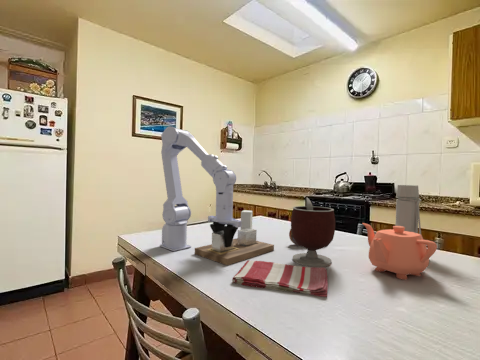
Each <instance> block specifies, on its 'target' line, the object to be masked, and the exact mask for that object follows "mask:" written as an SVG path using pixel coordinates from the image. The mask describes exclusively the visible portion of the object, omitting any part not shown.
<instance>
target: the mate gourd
mask: <svg viewBox="0 0 480 360" xmlns="http://www.w3.org/2000/svg"><path fill="white" fill-rule="evenodd" d="M305 201H306V204H305V205H304V206H303V205H301V206H300V205H299V206H293V207H292V211H291V212H292V213H291V217H290V229H291V231H292V236H293V238H294V240H295V241H296V243H297V244H298V245H300V247H303V248H304V249H306V250H307V251H306V252H305V253H304V252H301V253H297V254H293V255H292V261H293V262H294V263H296V264H298V265H301V266H303V267H316V268H321V267H324V268H326V267H329V266H330V265H332V262H333V261H332V259H331V258H329V256H326V255H321V254H318V252H317V250H321V249H325V248H327V247H328V246H330V244H331V243H332V241H334V240H333V239H334V237H335V232H336V216H335V212H334V211H335V209H334V208H331V207H326V206H325V207H324V206H314V205H313V203H312V201H311V200H310V198H308V197H305ZM298 245H297V246H298Z"/></svg>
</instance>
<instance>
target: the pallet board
mask: <svg viewBox="0 0 480 360" xmlns="http://www.w3.org/2000/svg"><path fill="white" fill-rule="evenodd" d="M273 251H275V244H271V243H267V242H263V241H259V240H256V244H254V245H251V246H247V247H244V246H241V245H238V237H237V238H233V250H230V251H226V252H223V253H219V252H216V251H213V250H212V243H211V244H207V245H206V244H205V245H203V246H202V245H201V246H198V247H194V255H197V256H199V257H202V258H205V259H208V260H211V261H214V262H217V263H219V264H222V265H225V266H229V265H230V266H231V265H233V264H235V263H239V262H242V261H246V260H248V259H252V258H255V257H257V256H261V255H264V254H267V253H270V252H273Z"/></svg>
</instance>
